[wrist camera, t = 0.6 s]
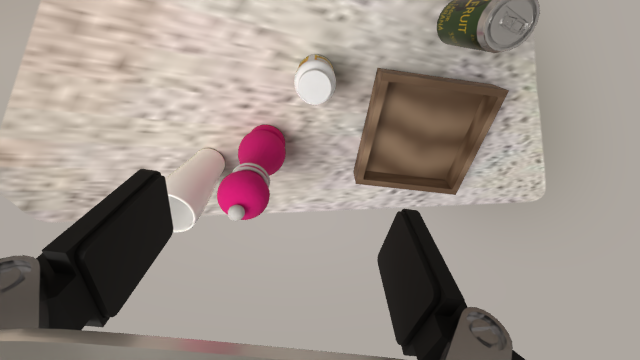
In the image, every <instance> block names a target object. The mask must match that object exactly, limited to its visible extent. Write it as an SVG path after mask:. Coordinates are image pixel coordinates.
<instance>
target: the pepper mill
mask: <svg viewBox="0 0 640 360" xmlns="http://www.w3.org/2000/svg"><path fill="white" fill-rule="evenodd" d="M238 158H239V161H240V165H238V166H237V167H235V169H234V170H233V172H232V173H231V174H229V175H228V176H226V177H225V178H224V179H223V180H222V182H221V184H220V186H219V188H218V193H217V199H218V203H219V205H220V207H221V209H222V210H223V211H224V212H225V213H226V214H228V216H229V218H230V219H231V220H233V221H238V220H247V219H251V218H254V217H256V216H258V215H260V214H261V213H262V212H263V211H264V210H265V208H266V207H267V204H268V202H269V195H270V193H269V189H268V188H269V185H270V178H269V176H270V175H272V174H274V173H275V172H276V171H277V170H279V168H280V167H281V166H282V164H283V162H284V159H285V139H284V136H283V134H282V133H281V132H280V131H279V130H278V129H277V128H275V127H273V126H270V125H260V126H257V127H256V128H254V129H253V130H252V131H251V133H249V134H247V135H246V136H245V137H244V138H243V140H242V141H241V143H240V146H239V149H238Z"/></svg>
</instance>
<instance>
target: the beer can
mask: <svg viewBox="0 0 640 360" xmlns="http://www.w3.org/2000/svg"><path fill="white" fill-rule="evenodd" d="M539 14H540V10H539V3H538V0H453V1H452V2H450V3H449V4H448V5H447V6H446V7H445V8H444V9H443V11H442V12H441V14H440V16H439V19H438V22H437V32H438V36H439V38H440V39H441V41H443V42H444V43H446V44H450V45H455V46H460V47H466V48H471V49H476V50H482V51H487V52H493V53H497V52H503V51H507V50H511V49H513V48H515V47H517V46H519V45H520V44H521V43H523V42H524V41H525V40H526V39H527V38H528V37H529V35H530V34H531V33H532V32H533V30H534V28H535V26H536V24H537V22H538V17H539Z"/></svg>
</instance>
